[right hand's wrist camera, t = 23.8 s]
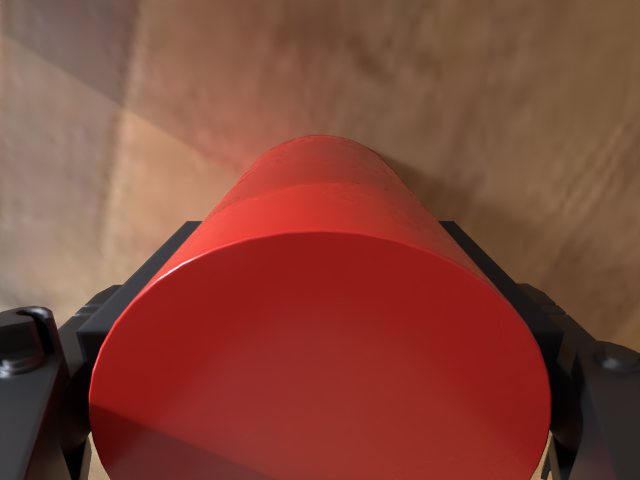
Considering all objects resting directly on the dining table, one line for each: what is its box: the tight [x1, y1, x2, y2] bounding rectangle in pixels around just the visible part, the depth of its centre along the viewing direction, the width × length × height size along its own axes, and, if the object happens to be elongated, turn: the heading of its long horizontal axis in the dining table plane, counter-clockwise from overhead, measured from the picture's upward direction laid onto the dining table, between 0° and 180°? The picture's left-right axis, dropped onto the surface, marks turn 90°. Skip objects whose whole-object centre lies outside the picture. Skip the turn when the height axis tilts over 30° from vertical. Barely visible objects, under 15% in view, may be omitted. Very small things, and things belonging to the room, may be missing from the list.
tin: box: [89, 135, 552, 480], centre depth 12 cm, size 8×8×11 cm
